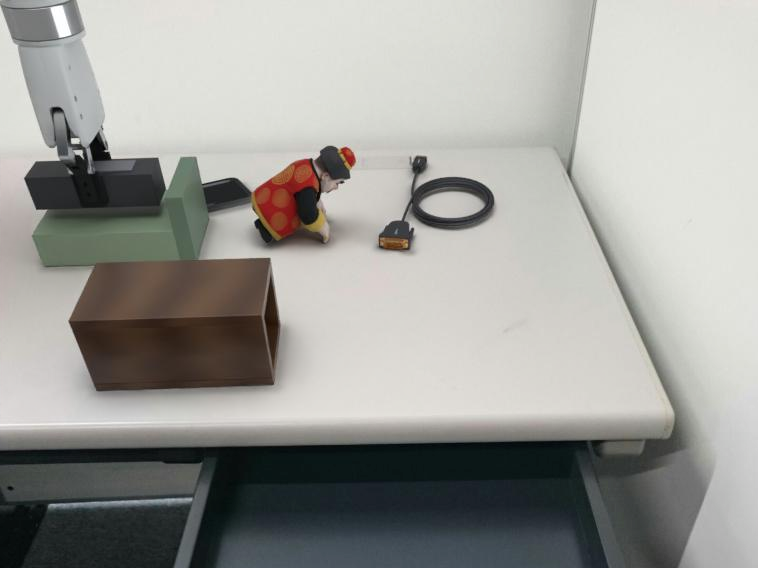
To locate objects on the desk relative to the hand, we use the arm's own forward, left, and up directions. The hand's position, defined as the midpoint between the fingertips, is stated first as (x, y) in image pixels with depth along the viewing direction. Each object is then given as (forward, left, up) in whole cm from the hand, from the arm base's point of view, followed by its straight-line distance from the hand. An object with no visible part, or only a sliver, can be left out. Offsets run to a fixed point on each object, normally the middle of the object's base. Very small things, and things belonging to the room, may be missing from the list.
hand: (100, 194), depth 90 cm
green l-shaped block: (+2, 0, -6) cm, 6 cm away
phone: (+9, +11, -7) cm, 16 cm away
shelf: (+14, -27, -6) cm, 31 cm away
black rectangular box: (0, 0, -1) cm, 1 cm away
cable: (+44, +8, -6) cm, 45 cm away
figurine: (+25, +1, -6) cm, 26 cm away
